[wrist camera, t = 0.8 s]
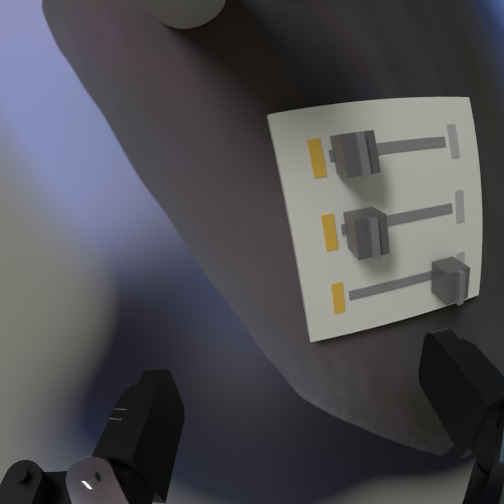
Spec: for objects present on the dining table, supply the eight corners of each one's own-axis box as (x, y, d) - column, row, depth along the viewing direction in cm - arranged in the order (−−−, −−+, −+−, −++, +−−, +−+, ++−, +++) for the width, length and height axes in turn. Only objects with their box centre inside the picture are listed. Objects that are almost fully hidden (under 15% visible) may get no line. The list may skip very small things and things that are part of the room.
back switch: (452, 256, 25) (473, 269, 21) (451, 285, 26) (471, 300, 22) (431, 261, 25) (451, 276, 22) (431, 291, 26) (449, 308, 23)
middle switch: (372, 206, 24) (389, 215, 20) (375, 242, 25) (392, 256, 21) (342, 212, 24) (356, 222, 20) (347, 248, 25) (361, 263, 21)
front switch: (360, 132, 22) (376, 129, 19) (366, 169, 23) (384, 173, 19) (329, 136, 22) (342, 133, 19) (336, 174, 23) (350, 178, 20)
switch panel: (457, 99, 23) (469, 97, 21) (468, 287, 28) (478, 295, 26) (266, 117, 24) (267, 114, 22) (307, 330, 30) (310, 342, 28)
